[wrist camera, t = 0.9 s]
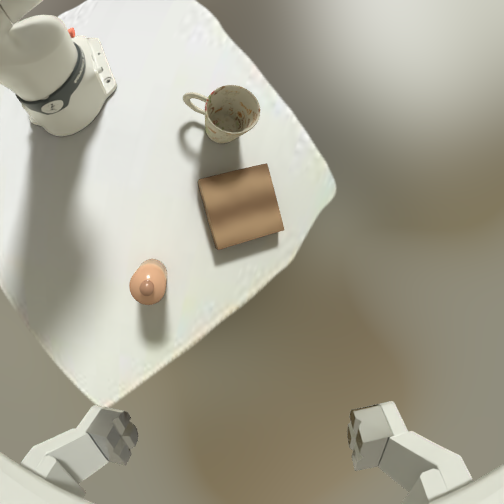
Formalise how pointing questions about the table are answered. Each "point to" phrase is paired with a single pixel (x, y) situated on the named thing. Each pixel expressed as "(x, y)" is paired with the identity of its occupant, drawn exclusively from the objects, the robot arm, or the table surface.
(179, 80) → the table surface
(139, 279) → the canister
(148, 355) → the table surface
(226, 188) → the pedestal
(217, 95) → the mug
